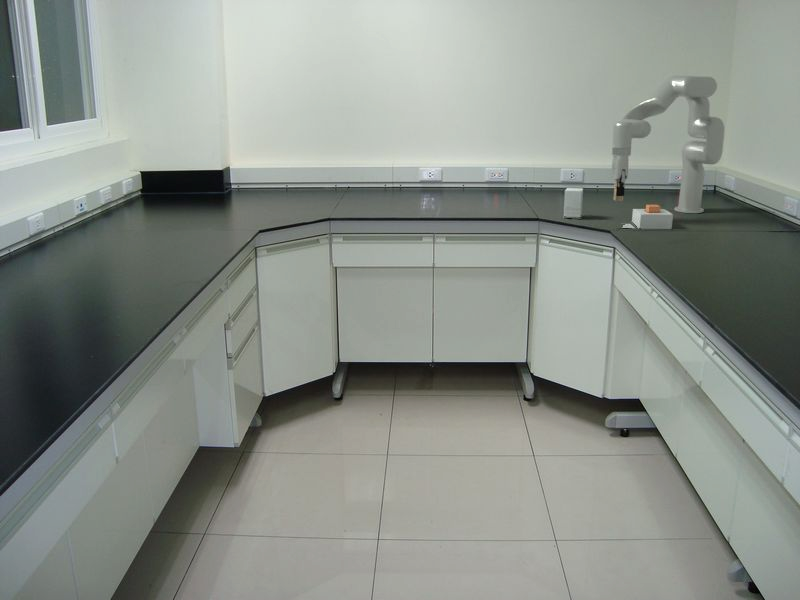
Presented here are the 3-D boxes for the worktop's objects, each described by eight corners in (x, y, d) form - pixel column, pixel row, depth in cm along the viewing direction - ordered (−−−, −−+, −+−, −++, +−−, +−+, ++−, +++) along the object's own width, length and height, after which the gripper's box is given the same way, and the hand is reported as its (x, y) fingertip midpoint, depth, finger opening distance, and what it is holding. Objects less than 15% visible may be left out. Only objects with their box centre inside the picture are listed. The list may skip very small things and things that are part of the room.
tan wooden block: (613, 199, 316) (614, 176, 312) (621, 199, 315) (622, 176, 312) (615, 201, 312) (616, 177, 309) (623, 200, 312) (624, 177, 309)
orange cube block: (644, 216, 307) (646, 204, 306) (656, 216, 307) (657, 204, 306) (648, 218, 303) (649, 206, 302) (659, 218, 303) (660, 206, 301)
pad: (610, 225, 308) (610, 223, 308) (630, 225, 307) (630, 223, 307) (615, 229, 300) (615, 227, 300) (635, 229, 300) (635, 227, 300)
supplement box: (581, 216, 326) (583, 188, 322) (580, 219, 319) (582, 190, 315) (565, 215, 328) (566, 187, 324) (562, 218, 321) (564, 190, 317)
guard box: (631, 222, 312) (633, 208, 310) (662, 222, 312) (664, 209, 310) (639, 228, 301) (640, 214, 299) (671, 229, 300) (673, 214, 298)
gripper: (607, 149, 315) (605, 191, 321) (617, 154, 300) (614, 199, 306) (625, 148, 315) (622, 191, 321) (635, 154, 299) (632, 198, 305)
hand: (618, 194), depth 313 cm, fingers closed on tan wooden block, 3 cm apart
